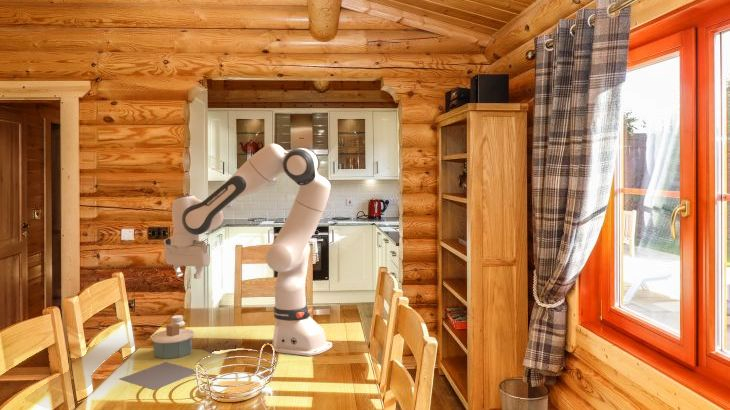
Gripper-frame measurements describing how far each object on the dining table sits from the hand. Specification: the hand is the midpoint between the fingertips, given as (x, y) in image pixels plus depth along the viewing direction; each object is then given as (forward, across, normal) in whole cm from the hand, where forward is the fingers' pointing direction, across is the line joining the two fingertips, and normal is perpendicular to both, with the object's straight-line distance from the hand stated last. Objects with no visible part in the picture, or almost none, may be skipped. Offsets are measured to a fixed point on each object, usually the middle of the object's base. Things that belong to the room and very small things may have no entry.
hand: (188, 277), depth 197 cm
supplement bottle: (+25, +8, 0) cm, 26 cm away
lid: (+19, -2, +10) cm, 21 cm away
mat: (+25, -16, +26) cm, 39 cm away
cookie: (+26, -13, -3) cm, 29 cm away
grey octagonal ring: (+25, -2, +10) cm, 27 cm away
